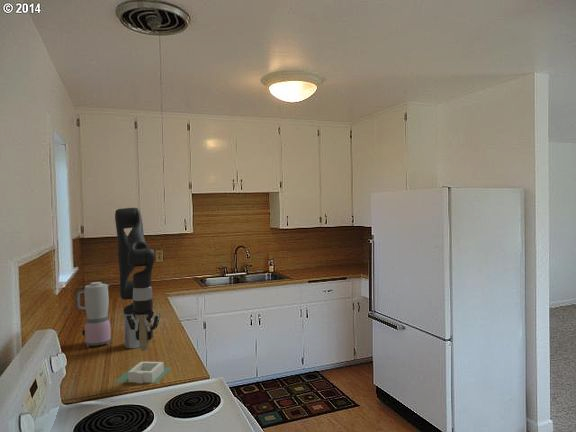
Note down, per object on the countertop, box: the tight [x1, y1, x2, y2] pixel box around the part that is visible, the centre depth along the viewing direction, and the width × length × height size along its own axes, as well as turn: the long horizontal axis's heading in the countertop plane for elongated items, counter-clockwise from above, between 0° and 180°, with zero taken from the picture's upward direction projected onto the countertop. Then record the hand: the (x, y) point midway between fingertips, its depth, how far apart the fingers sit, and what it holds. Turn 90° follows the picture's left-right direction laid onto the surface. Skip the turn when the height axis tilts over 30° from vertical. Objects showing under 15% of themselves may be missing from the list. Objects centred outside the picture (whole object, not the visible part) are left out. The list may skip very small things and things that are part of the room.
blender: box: [75, 281, 112, 348], centre depth 216 cm, size 16×12×32 cm
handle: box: [135, 314, 150, 352], centre depth 170 cm, size 5×6×15 cm
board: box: [113, 366, 173, 384], centre depth 174 cm, size 16×18×1 cm
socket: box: [128, 361, 165, 384], centre depth 171 cm, size 12×10×4 cm
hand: (144, 339), depth 170 cm, fingers closed on handle, 4 cm apart
